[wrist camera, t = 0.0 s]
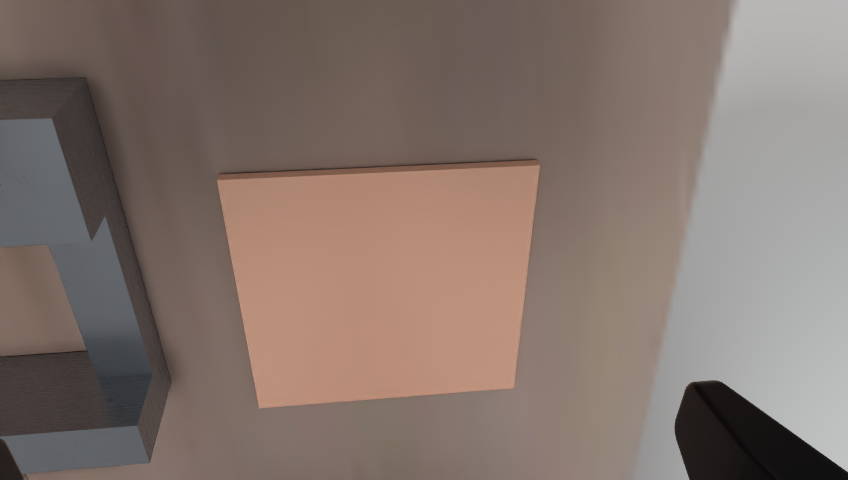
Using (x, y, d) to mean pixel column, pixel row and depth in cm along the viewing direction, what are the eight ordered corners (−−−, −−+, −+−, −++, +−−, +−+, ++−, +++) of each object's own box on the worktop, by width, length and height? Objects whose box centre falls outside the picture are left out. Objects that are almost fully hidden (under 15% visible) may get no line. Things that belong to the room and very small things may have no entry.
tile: (511, 381, 30) (513, 388, 30) (259, 401, 29) (259, 408, 29) (536, 159, 24) (539, 165, 24) (218, 174, 23) (216, 180, 22)
